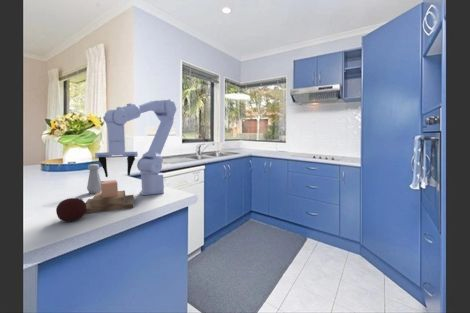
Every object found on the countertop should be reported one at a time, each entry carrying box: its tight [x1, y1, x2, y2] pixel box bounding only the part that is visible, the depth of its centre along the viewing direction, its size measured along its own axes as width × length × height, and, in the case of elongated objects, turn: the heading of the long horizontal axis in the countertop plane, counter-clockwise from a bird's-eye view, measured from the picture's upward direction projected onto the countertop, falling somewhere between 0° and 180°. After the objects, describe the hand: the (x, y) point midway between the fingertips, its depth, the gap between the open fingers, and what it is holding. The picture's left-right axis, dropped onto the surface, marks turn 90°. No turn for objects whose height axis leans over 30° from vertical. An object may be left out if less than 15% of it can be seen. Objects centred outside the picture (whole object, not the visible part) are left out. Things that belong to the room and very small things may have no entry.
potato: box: [55, 197, 86, 222], centre depth 69 cm, size 7×8×7 cm
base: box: [84, 190, 135, 215], centre depth 84 cm, size 16×13×4 cm
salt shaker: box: [86, 163, 102, 195], centre depth 100 cm, size 6×6×13 cm
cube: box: [100, 179, 119, 198], centre depth 83 cm, size 5×5×5 cm
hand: (117, 175), depth 87 cm, fingers open, 7 cm apart
